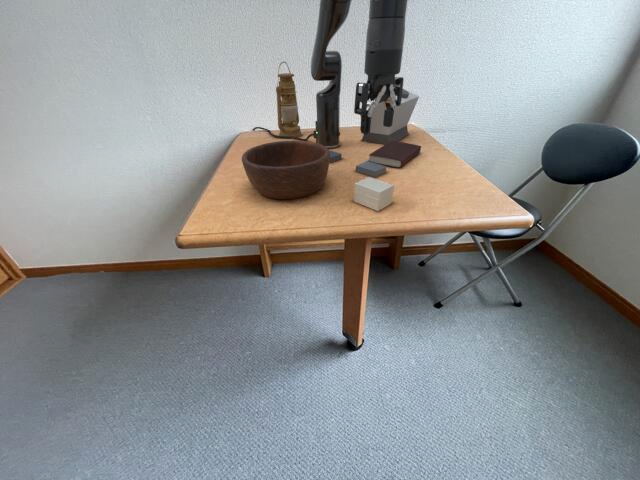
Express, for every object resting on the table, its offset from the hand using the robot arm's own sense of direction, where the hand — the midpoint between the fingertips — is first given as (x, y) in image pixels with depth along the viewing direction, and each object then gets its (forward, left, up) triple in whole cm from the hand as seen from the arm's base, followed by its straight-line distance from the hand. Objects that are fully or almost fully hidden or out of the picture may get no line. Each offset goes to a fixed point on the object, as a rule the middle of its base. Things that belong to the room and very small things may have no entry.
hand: (376, 129), depth 66 cm
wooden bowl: (-23, -11, -18) cm, 31 cm away
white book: (+2, -2, -15) cm, 15 cm away
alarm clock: (-32, +53, -18) cm, 64 cm away
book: (-14, +32, -18) cm, 39 cm away
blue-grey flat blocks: (-22, +15, -18) cm, 32 cm away
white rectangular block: (+2, -2, -18) cm, 18 cm away
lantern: (-70, +27, -18) cm, 77 cm away
